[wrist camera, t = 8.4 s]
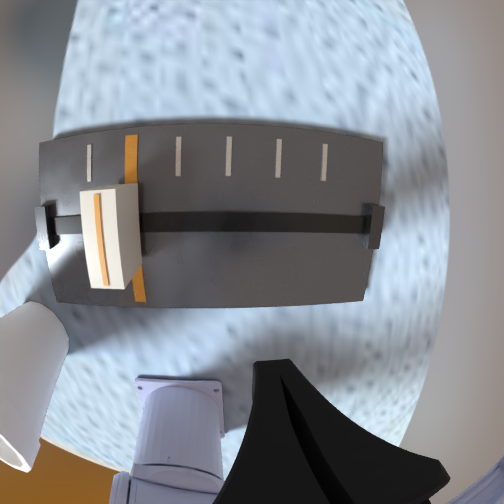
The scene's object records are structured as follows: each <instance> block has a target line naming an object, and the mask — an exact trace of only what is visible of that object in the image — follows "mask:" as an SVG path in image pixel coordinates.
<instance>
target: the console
mask: <svg viewBox="0 0 504 504" xmlns="http://www.w3.org/2000/svg"><path fill="white" fill-rule="evenodd" d="M382 156H383V142H378V141H374V140H369V139H364V138H358V137H353V136H347V135H341V134H335V133H329V132H322V131H314V130H306V129H298V128H288V127H277V126H263V125H245V124H173V125H156V126H142V127H132V128H122V129H114V130H106V131H99V132H93V133H86V134H80V135H75V136H70V137H64V138H60V139H55V140H51V141H46V142H42V143H40V146H39V185H40V186H39V187H40V203H41V206H38V207H35V217H36V225H37V234H38V241H39V248H40V250H46V253H47V259H48V264H49V270H50V274H51V279H52V284H53V288H54V292H55V296H56V300H57V302H61V303H73V304H87V305H103V306H122V307H148V308H252V307H280V306H300V305H317V304H331V303H344V302H356V301H363V299H364V294H365V289H366V284H367V279H368V274H369V269H370V263H371V257H372V251H373V249H379V246H380V239H381V233H382V226H383V218H384V209H385V207H384V206H381V205H379V197H380V186H381V173H382ZM130 183H138V209H139V228H140V243H141V255H142V265H141V266H140V267H139V269H138V270H137V272H136V273H135V275H134V276H133V278H132V279H131V280H130V282H129V283H128V285H127V286H126V288H125V289H102V288H91V284H90V279H89V273H88V267H87V261H86V254H85V247H84V239H83V230H82V220H81V207H80V191H84V190H88V189H93V188H97V187H101V186H106V185H115V184H130Z"/></svg>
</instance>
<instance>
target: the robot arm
mask: <svg viewBox="0 0 504 504" xmlns="http://www.w3.org/2000/svg"><path fill="white" fill-rule="evenodd" d="M134 385H135V388H136V391H137V394H138V397H139V400H140V403H141V405H142V408H143V414H142V419H141V424H140V429H139V434H138V439H137V445H136V450H135V456H134V462H133V467H132V470H131V473H130V476H129V473H128V472H125V471H121V472H120V473H118V474H116V475H114V479H113V484H112V489H111V495H110V501H109V504H431V503H430V501H429V498H430V497H431V496H433V495H434V494H435V493H437V492H438V491H439V490H440V489H442V488H443V487H444V486H445V485H446V484H447V483H448V482H449V480H450V476H449V475H448V473H447V472H446V470H445V468H444V467H443V466H442V464H441V463H440V461H439V460H436V459H432V458H429V457H425V456H422V455H418V454H415V453H412V452H409V451H407V450H404V449H402V448H399V447H397V446H395V445H392V444H390V443H388V442H386V441H385V440H383V439H381V438H379V437H377V436H375V435H373V434H371V433H370V432H368V431H367V430H365V429H363V428H362V427H360V426H359V425H357V424H356V423H355V422H353V421H352V420H350V419H349V418H348V417H346V416H345V415H344V414H343V413H341V412H340V411H339V410H338V409H337V408H336V407H334V406H333V405H332V404H331V403H330V402H329V401H328V400H327V399H326V398H325V397H324V396H323V395H322V394H321V393H320V392H319V391H318V390H317V389H316V388H315V387H314V386H313V385H312V384H311V383H310V382H309V381H308V380H307V379H306V378H305V377H304V375H303V374H302V373H301V372H300V371H299V370H298V368H297V367H296V366H295V365H294V363H293V362H292V361H291V360H290V359H282V360H269V361H256V362H255V363H254V364H253V385H252V400H253V404H252V409H251V413H250V417H249V421H248V425H247V429H246V432H245V435H244V438H243V441H242V444H241V447H240V449H239V452H238V454H237V457H236V459H235V462H234V464H233V466H232V468H231V471H230V473H229V475H228V477H227V478H226V480H225V481H224V477H223V465H222V452H221V439H222V438H224V437H225V433H224V417H223V399H222V384H221V382H219V381H185V380H160V379H145V378H136V379H135V380H134ZM140 386H141V387H140ZM215 389H218V390H215ZM446 504H504V456H503V457H502V458H501V459H500V460H499V461H498V462H497V463H496V464H495V465H494V466H493V467H492V468H491V469H490V470H489V471H488V472H486V473H485V474H484V475H483V476H482V477H481V478H480V479H478V480H477V481H476V482H475V483H473V484H472V485H471V486H469V487H468V488H467V489H466V490H464V491H463V492H462V493H460V494H459V495H458V496H456V497H455V498H454V499H452V500H451V501H449V502H448V503H446Z"/></svg>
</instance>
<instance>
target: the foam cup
mask: <svg viewBox="0 0 504 504" xmlns="http://www.w3.org/2000/svg"><path fill="white" fill-rule="evenodd" d="M68 350H69V337H68V335H67V333H66V330H65V328H64V326H63V324H62V323H61V322H60V320H59V319H58V318H57V317H56V315H55V314H54V313H53V312H52V311H51V310H49V309H48V308H47V307H45V306H44V305H42V304H41V303H37V302H33V301H29V302H27V303H25V304H22V305H21V306H19V307H17V308H16V309H14V310H13V311H11V312H9V313H8V314H6V315H5V316H3V317H2V318H0V460H2V461H4V462H5V463H7V464H8V465H10V466H12V467H14V468H16V469H19V470H22V471H25V472H29V471H30V470H31V469H32V466H33V463H34V461H35V458H36V455H37V453H38V450H39V448H40V443H39V438H40V434H41V430H42V427H43V423H44V419H45V416H46V413H47V409H48V406H49V403H50V400H51V397H52V394H53V391H54V388H55V385H56V382H57V379H58V377H59V374H60V371H61V369H62V366H63V364H64V361H65V358H66V356H67V352H68Z"/></svg>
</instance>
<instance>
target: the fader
mask: <svg viewBox="0 0 504 504" xmlns="http://www.w3.org/2000/svg"><path fill="white" fill-rule="evenodd" d="M80 207H81V220H82V230H83V239H84V247H85V254H86V261H87V267H88V273H89V279H90V284H91V288H102V289H125V288H126V286H127V285H128V283H129V282H130V280H131V279H132V278H133V276H134V275H135V273H136V272H137V270H138V269H139V267H140V266H141V265H142V255H141V243H140V228H139V209H138V183H130V184H115V185H106V186H101V187H97V188H93V189H88V190H84V191H80Z"/></svg>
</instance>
